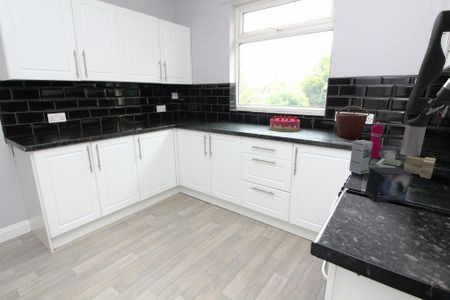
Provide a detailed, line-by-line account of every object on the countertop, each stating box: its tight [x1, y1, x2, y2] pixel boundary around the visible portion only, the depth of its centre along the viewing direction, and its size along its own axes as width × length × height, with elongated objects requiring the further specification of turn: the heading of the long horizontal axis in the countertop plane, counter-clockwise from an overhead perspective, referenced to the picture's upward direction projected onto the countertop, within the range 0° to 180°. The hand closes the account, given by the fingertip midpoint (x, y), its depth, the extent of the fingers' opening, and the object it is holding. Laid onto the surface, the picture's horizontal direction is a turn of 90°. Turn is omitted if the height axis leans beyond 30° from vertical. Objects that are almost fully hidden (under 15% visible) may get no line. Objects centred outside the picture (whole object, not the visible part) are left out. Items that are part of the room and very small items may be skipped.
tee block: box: [402, 155, 437, 180], centre depth 107 cm, size 10×10×7 cm
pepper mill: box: [369, 121, 385, 159], centre depth 132 cm, size 7×7×20 cm
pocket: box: [374, 157, 402, 168], centre depth 115 cm, size 15×8×2 cm, turn 135°
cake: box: [269, 115, 301, 133], centre depth 226 cm, size 28×28×12 cm
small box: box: [364, 166, 412, 203], centre depth 80 cm, size 11×6×10 cm, turn 90°
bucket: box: [335, 105, 371, 140], centre depth 188 cm, size 24×22×25 cm
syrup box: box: [348, 139, 373, 175], centre depth 106 cm, size 6×6×14 cm
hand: (426, 122), depth 107 cm, fingers open, 8 cm apart
